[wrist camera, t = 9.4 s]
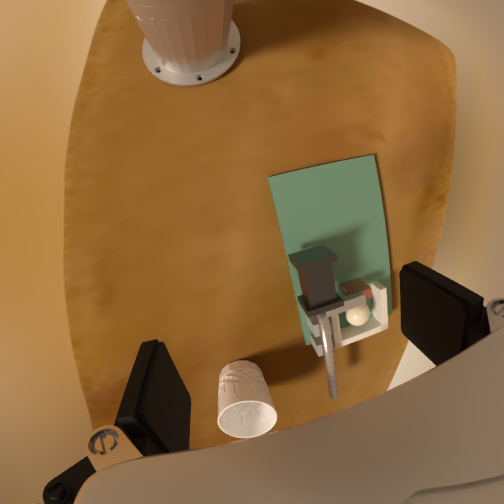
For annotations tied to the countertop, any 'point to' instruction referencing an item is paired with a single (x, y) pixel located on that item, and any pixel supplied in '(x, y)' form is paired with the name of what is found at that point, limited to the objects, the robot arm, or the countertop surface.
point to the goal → (368, 328)
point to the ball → (358, 315)
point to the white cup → (244, 401)
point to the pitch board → (335, 227)
